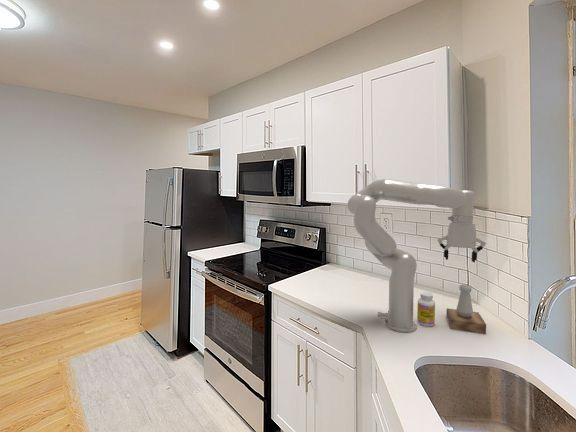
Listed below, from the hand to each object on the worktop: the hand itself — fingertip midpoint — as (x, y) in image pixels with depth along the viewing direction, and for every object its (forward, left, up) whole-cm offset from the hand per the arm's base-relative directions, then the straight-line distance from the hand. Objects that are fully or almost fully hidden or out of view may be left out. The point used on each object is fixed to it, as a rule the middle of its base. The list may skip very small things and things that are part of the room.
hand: (459, 260), depth 117 cm
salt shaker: (+2, -2, -23) cm, 23 cm away
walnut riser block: (+2, -2, -27) cm, 27 cm away
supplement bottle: (-13, -6, -27) cm, 31 cm away
